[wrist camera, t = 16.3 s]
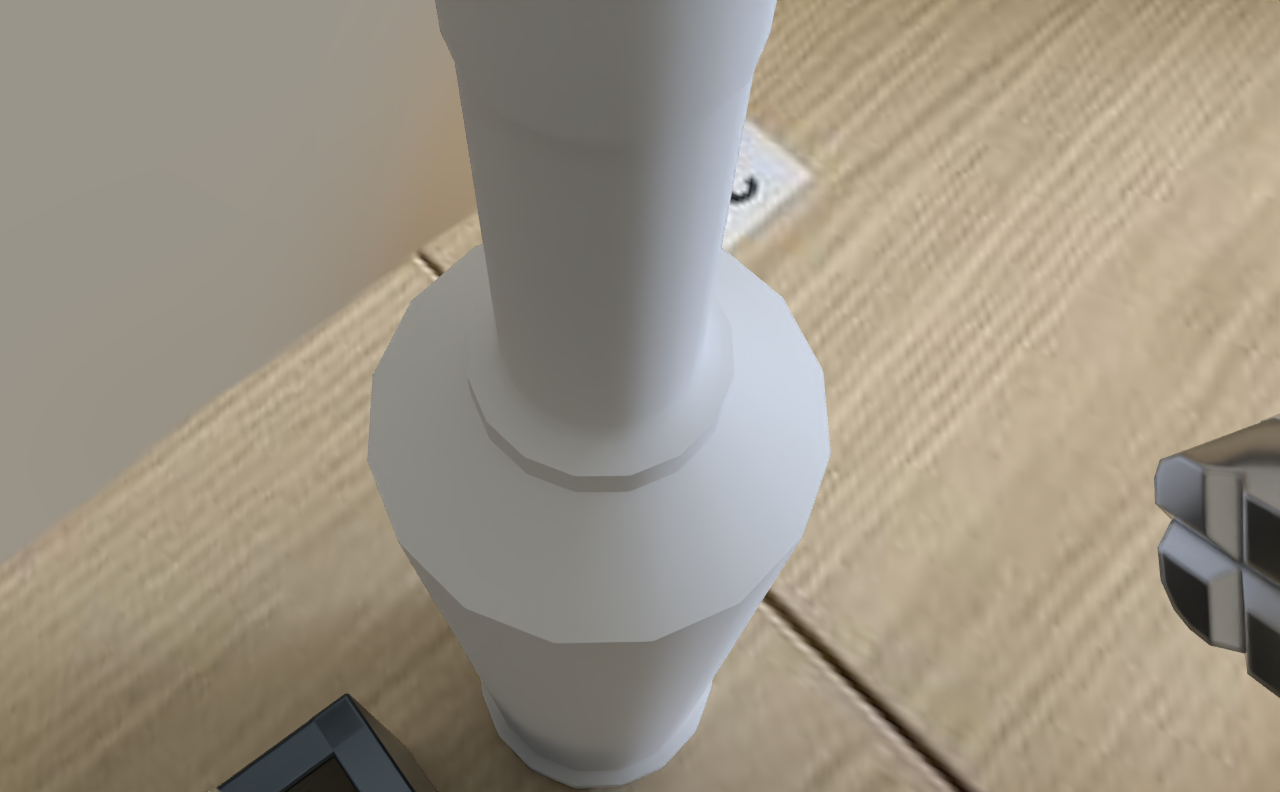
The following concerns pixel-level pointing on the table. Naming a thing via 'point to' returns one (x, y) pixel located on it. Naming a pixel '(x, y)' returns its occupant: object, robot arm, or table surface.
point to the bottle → (599, 382)
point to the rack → (334, 758)
